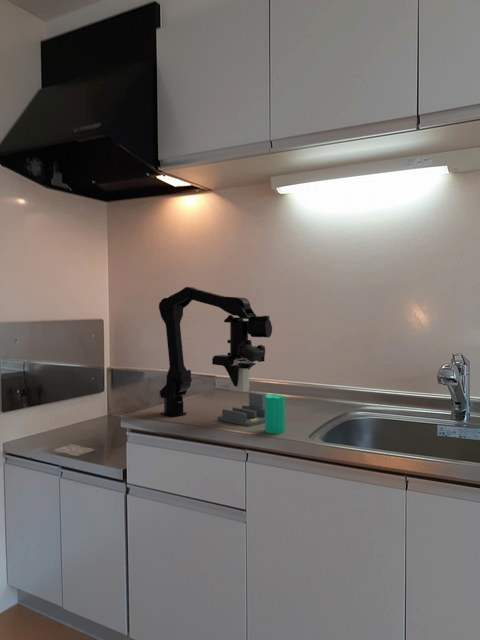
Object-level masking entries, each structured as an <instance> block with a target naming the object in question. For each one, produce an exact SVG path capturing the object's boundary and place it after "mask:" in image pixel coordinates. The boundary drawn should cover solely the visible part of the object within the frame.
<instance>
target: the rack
mask: <svg viewBox="0 0 480 640" xmlns="http://www.w3.org/2000/svg"><path fill="white" fill-rule="evenodd" d="M248 392H249V393H248V405H245V404H242V405H241V407H235V406H233V407H232V410H230V409H225V408H224V409H223V408H222V410H221V411H222V413H221V414H222V415H217V420H219V421H223V422H228V423H232V424H237V425H240V426H246V427H253V426H257V425H260V424H261V425H262V424H265V395H267V394H269V393H267V392H261V391H248Z"/></svg>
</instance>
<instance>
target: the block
mask: <svg viewBox="0 0 480 640" xmlns="http://www.w3.org/2000/svg"><path fill="white" fill-rule="evenodd" d="M229 390H230V391H234V392H241V393H242V392H243V393H245V392H250V370H249V369H245V368H239V370H238V384H237V386H234V385H233V382H232V380H231V378H230V377H229Z"/></svg>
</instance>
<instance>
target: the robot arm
mask: <svg viewBox="0 0 480 640" xmlns="http://www.w3.org/2000/svg"><path fill="white" fill-rule="evenodd" d="M192 301H196V302H199V303H202V304H205V305H206V304H207V305H209V306H212V307H217V308H218V309H219V308H220V310H222V311H224V312H226V313H227V314H229V315H228V316H227V317H226V318H225V319H224V320H223V322H224V323H229V325H230V327H229V333H230V334H229V335H230V336H229V338H230V339H227V344H229V352H227V354H218V355H213V357H211V358H212V359H211V360H212V362H211V363H212V365H215V366H222V367H224V368H225V370H226V372H227V374H228V375H229V379H230V378H231V380H232V382H233V385H234V386H237V384H238V370H239V368H245V369H249V371H250V370H251V368H252V367H254V366H256V363H255V362H258V363H261V362H265V356H266V346H265V345H263V344H258V345H256V346H255V345H254V346H253V345H252V339H249V335H250V337H251V338H271V335H272V334H273V326H272V321H271V320H270V315H262V316H261V315H260V316H258V315H257V314H256V313H255V312H254V310H253V309H252V306H251V303H250V301H249V299H247V298H245V297H236V296H224V295H220V294H216V293H213V292H208V291H205V290H203V289H198V288H195V287H193V286H191V287H190V286H185V287H184V288H182V289H180V290H179V291H177V292H176V293H173V294H171V295H170V296H168V297H163V298H162V299H161V301H159V302H158V303H159V304H158V309H159V314H160V317H161V320H162V321H163V323H164V324H165V330H166V331H165V332H166V342H167V353H168V362H169V368H168V370H167V374H166V379H165V380H166V382H165V383H166V384H165V385H164V386H163V387H162V389H160V390H159V395H160V398H161V399H163V402H164V403H163V405H164V406H163V409H164V410H163V411H162V412H160V415H163V416H167V417H169V418H170V417H171V418H173V417H177V416H183V415H187V412H186V411H184V396H185V395H187V392H188V390H189V388H190V387H191V384H192V382H193V379H192V377H191V376H192V371H191V369H187V368H186V367H185V363H184V352H183V342H182V341H183V340H182V330H181V321H182V318H183V316H184V308H186V307H187V306H188V305H189V304H190V303H191V302H192ZM235 316H237V317H235Z"/></svg>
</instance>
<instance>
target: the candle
mask: <svg viewBox="0 0 480 640" xmlns="http://www.w3.org/2000/svg"><path fill="white" fill-rule="evenodd" d="M285 423H286V396H285V395H282V394H278V393H277V394H276V393H268V394H267V395H265V423H264V432H266V433H268V434H283V433H285V432H286V424H285Z"/></svg>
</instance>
